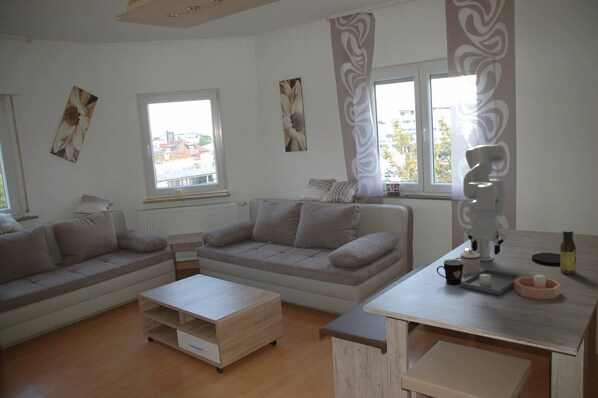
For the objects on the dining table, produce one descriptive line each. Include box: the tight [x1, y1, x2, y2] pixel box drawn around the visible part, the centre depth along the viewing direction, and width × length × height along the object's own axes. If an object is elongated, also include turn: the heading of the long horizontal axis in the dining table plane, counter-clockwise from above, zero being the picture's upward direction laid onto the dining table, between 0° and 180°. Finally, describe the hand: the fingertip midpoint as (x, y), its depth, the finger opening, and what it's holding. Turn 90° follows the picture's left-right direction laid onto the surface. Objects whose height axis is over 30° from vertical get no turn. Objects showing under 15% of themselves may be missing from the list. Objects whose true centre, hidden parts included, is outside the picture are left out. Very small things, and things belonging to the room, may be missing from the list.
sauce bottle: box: [559, 229, 577, 275], centre depth 208 cm, size 7×6×20 cm
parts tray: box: [459, 268, 523, 297], centre depth 201 cm, size 17×24×2 cm
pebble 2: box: [533, 274, 547, 289], centre depth 191 cm, size 5×5×5 cm
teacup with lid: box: [454, 248, 481, 277], centre depth 218 cm, size 12×9×12 cm
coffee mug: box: [436, 258, 464, 287], centre depth 206 cm, size 12×9×10 cm
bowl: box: [513, 275, 562, 300], centre depth 189 cm, size 16×16×4 cm
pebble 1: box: [480, 274, 491, 288], centre depth 197 cm, size 5×5×5 cm
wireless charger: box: [531, 252, 560, 267], centre depth 229 cm, size 18×18×2 cm
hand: (485, 252), depth 195 cm, fingers open, 9 cm apart
